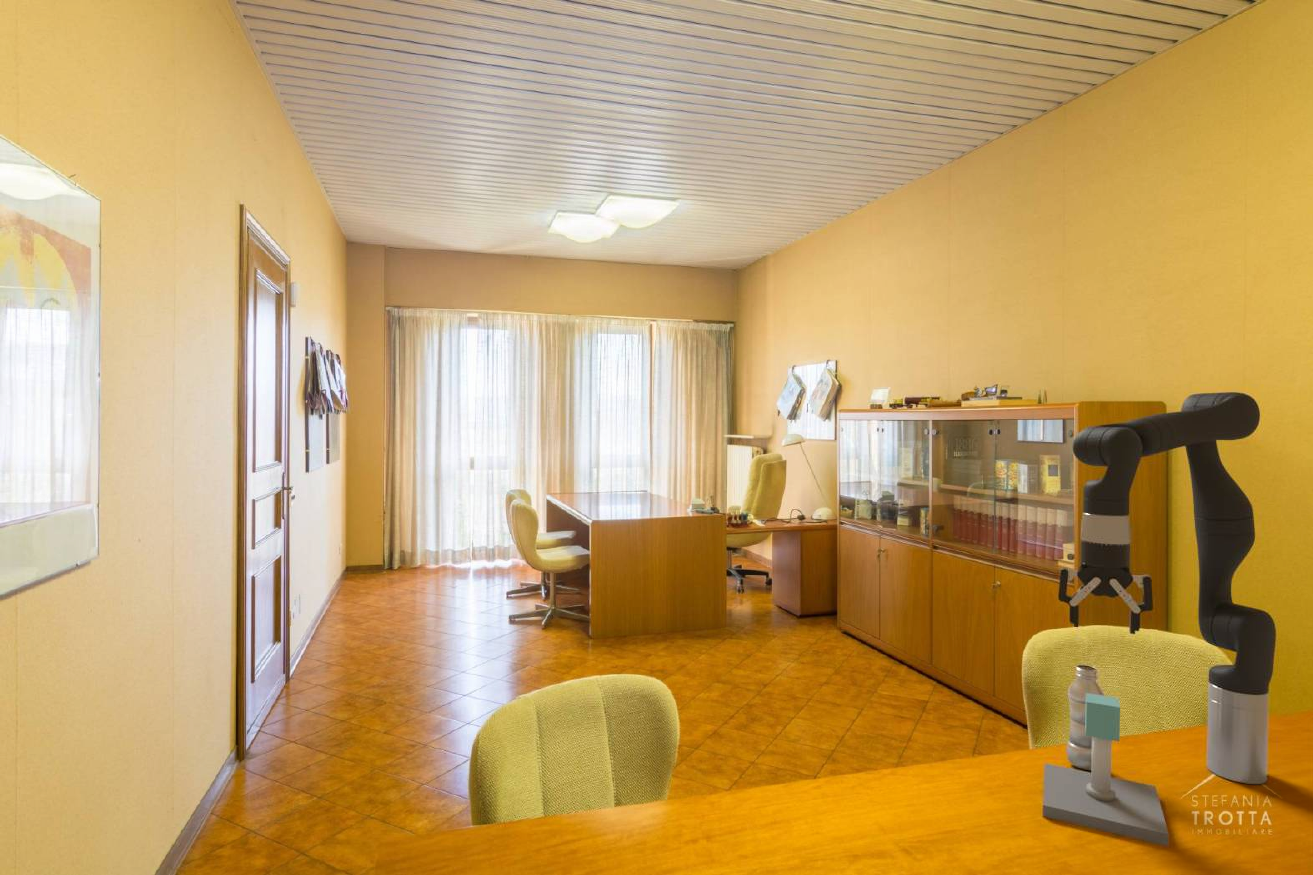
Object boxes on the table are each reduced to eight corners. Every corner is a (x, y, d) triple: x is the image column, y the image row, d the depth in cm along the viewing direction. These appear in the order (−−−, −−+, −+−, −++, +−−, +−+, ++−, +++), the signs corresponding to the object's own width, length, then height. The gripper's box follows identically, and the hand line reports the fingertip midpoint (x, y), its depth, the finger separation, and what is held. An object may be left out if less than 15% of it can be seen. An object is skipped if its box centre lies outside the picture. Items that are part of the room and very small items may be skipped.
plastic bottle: (1093, 760, 147) (1094, 662, 147) (1110, 776, 140) (1112, 674, 140) (1059, 758, 148) (1061, 661, 147) (1075, 774, 141) (1077, 672, 141)
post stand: (1044, 773, 141) (1045, 682, 141) (1155, 796, 133) (1157, 699, 132) (1042, 816, 126) (1044, 713, 125) (1168, 846, 117) (1170, 736, 116)
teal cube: (1085, 725, 132) (1085, 692, 132) (1117, 731, 130) (1117, 697, 130) (1086, 735, 128) (1086, 701, 128) (1119, 741, 125) (1120, 707, 125)
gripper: (1151, 539, 128) (1149, 630, 128) (1059, 533, 135) (1057, 619, 135) (1156, 545, 121) (1154, 641, 122) (1059, 538, 128) (1057, 628, 129)
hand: (1103, 629), depth 128 cm, fingers open, 8 cm apart
